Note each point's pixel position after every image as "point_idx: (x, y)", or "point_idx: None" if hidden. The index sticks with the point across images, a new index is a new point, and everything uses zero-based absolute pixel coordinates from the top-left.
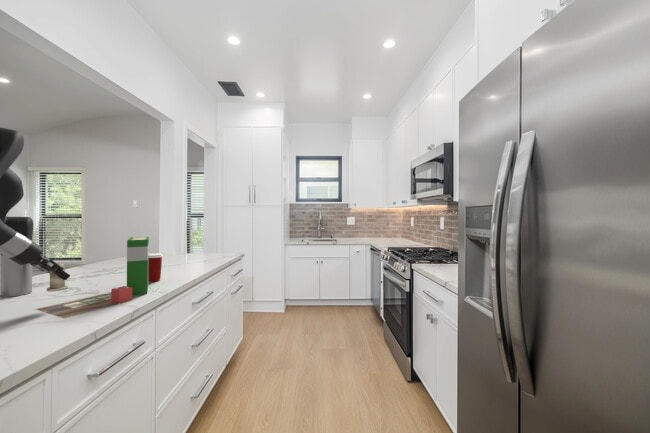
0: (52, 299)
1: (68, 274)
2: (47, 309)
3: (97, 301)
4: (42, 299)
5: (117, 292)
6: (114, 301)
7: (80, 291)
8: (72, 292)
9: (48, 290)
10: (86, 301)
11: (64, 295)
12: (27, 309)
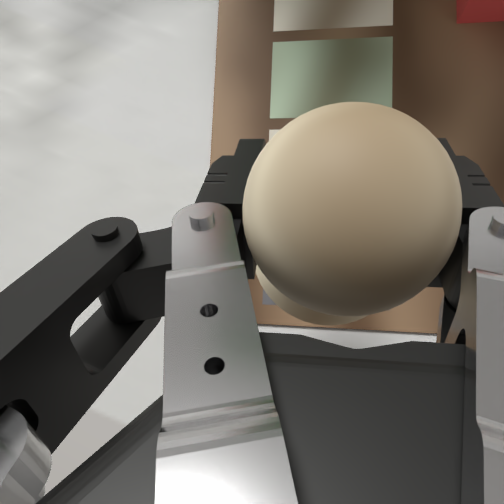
0: (63, 176)
1: (451, 151)
2: None
3: (377, 70)
4: (12, 203)
5: None
6: (497, 19)
7: (25, 15)
8: (6, 49)
9: (343, 323)
10: (310, 103)
11: (34, 103)
12: (159, 338)
